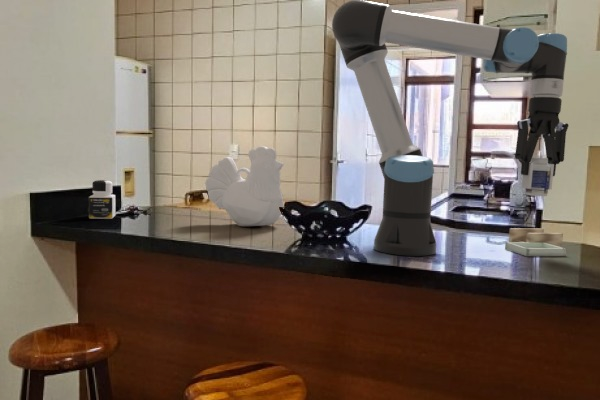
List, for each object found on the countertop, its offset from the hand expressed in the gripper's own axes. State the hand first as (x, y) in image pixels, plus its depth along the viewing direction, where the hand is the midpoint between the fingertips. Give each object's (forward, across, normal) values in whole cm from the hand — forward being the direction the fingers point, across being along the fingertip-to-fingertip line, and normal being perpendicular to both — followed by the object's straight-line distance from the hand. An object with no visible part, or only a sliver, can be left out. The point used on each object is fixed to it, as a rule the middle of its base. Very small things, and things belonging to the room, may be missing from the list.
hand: (536, 188), depth 136 cm
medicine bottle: (+19, -113, +62) cm, 131 cm away
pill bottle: (+2, 0, 0) cm, 2 cm away
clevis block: (+16, +6, +7) cm, 19 cm away
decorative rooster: (+18, -69, +45) cm, 84 cm away
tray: (+16, -1, -3) cm, 16 cm away
